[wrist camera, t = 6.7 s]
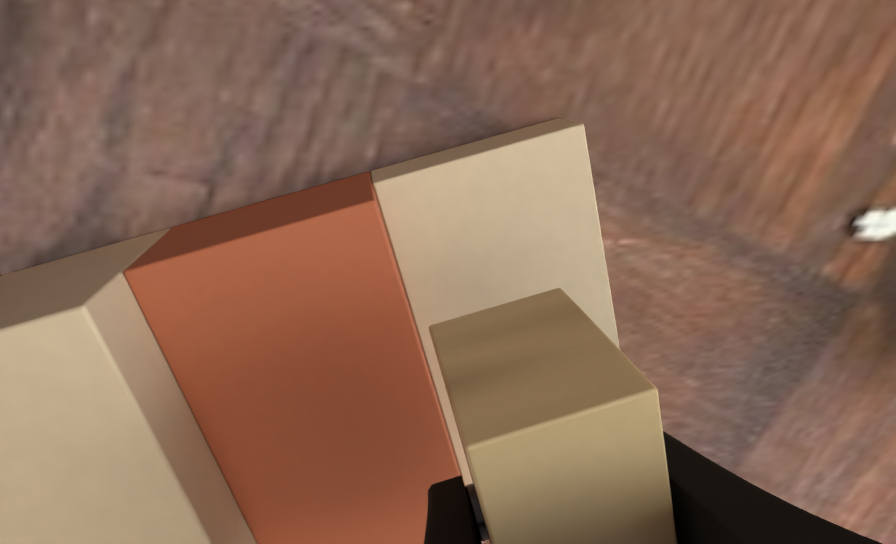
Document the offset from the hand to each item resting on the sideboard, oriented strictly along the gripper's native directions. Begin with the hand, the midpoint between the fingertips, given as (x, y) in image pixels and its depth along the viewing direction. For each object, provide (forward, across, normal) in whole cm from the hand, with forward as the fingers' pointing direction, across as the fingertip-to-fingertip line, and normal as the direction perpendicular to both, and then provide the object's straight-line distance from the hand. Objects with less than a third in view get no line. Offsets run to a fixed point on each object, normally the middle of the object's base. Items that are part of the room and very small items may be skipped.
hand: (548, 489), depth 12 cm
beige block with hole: (+1, 0, 0) cm, 1 cm away
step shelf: (+8, +5, 0) cm, 10 cm away
